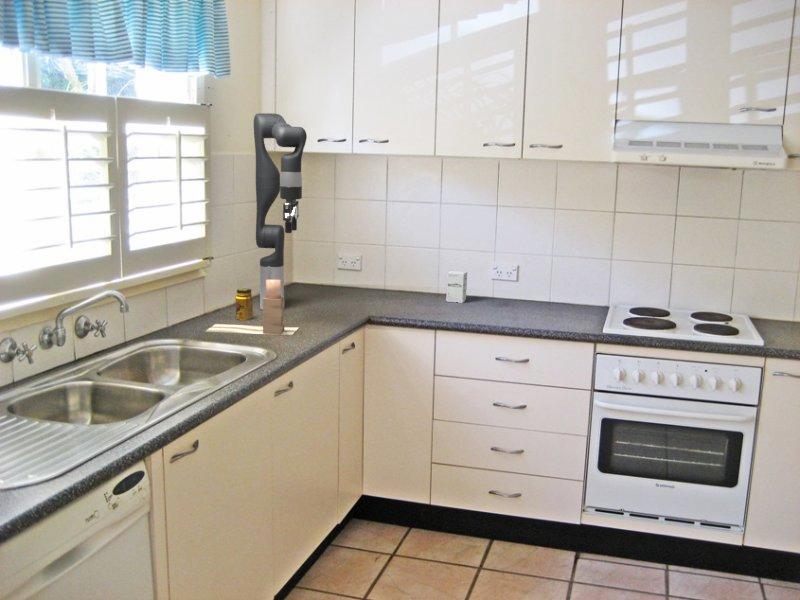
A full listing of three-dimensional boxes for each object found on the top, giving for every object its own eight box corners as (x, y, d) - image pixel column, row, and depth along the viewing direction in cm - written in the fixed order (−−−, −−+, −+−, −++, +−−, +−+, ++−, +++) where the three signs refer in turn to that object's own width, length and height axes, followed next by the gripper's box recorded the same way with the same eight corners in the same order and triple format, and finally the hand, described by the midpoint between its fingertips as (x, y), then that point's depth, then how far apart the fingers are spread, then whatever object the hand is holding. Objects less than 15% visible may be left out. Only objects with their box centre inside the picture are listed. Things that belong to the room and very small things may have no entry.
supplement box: (445, 302, 356) (446, 272, 354) (449, 299, 363) (450, 270, 361) (462, 303, 354) (463, 273, 352) (466, 300, 361) (467, 271, 359)
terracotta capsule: (268, 296, 289) (267, 278, 288) (281, 296, 289) (281, 279, 287) (264, 298, 284) (264, 281, 283) (278, 299, 284) (278, 281, 283)
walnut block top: (267, 312, 291) (267, 295, 290) (284, 313, 290) (284, 296, 289) (262, 316, 285) (262, 298, 284) (280, 316, 284) (280, 299, 283)
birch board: (215, 326, 299) (215, 324, 299) (298, 330, 296) (298, 327, 296) (204, 334, 287) (204, 331, 287) (291, 338, 285) (291, 335, 285)
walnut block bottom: (267, 329, 292) (267, 312, 291) (284, 330, 291) (284, 313, 290) (263, 333, 286) (262, 316, 285) (280, 334, 285) (280, 316, 284)
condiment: (231, 322, 307) (230, 289, 305) (244, 318, 315) (244, 286, 313) (247, 324, 304) (247, 291, 302) (260, 320, 312) (260, 288, 310)
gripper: (284, 183, 300) (284, 229, 303) (275, 185, 286) (275, 233, 289) (305, 184, 300) (305, 230, 303) (297, 186, 286) (297, 234, 289)
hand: (291, 231), depth 296 cm, fingers open, 8 cm apart
